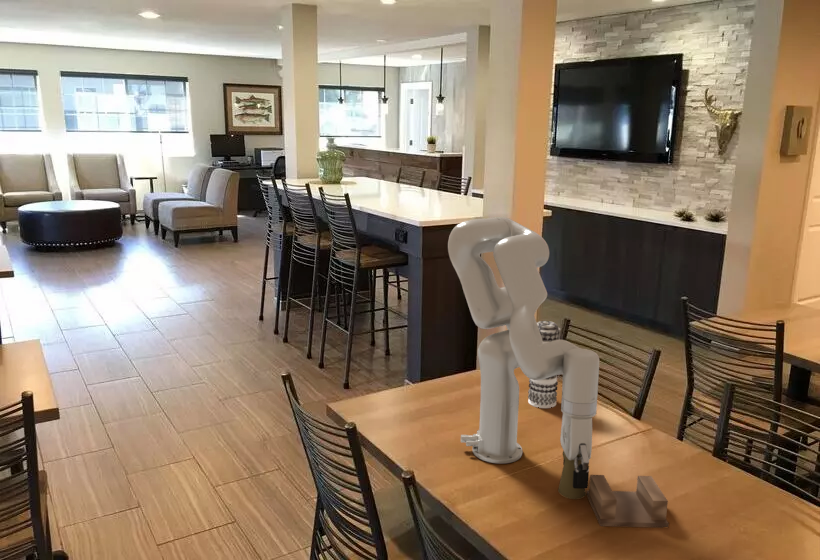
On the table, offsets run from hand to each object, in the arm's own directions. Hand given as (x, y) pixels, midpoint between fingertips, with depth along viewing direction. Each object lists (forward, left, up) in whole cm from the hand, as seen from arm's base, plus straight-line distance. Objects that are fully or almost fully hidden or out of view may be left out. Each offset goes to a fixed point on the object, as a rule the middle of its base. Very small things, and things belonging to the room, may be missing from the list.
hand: (575, 476), depth 146 cm
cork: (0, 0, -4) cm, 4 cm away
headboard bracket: (+10, -7, -4) cm, 12 cm away
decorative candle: (+2, +50, -4) cm, 51 cm away
